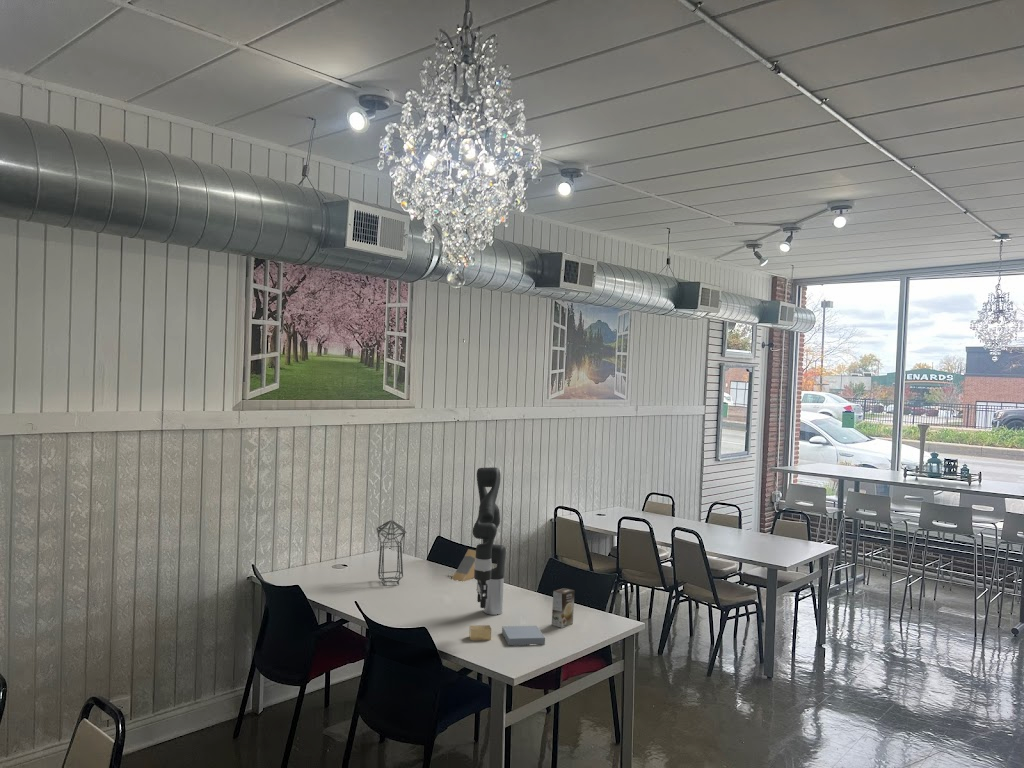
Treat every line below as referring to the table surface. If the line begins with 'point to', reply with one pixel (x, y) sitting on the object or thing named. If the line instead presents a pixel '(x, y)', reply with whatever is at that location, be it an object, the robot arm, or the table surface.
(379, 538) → the geometric lantern
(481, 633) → the tan rectangular block
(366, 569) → the table surface
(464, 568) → the sandwich container
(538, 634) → the slate board
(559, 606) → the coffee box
